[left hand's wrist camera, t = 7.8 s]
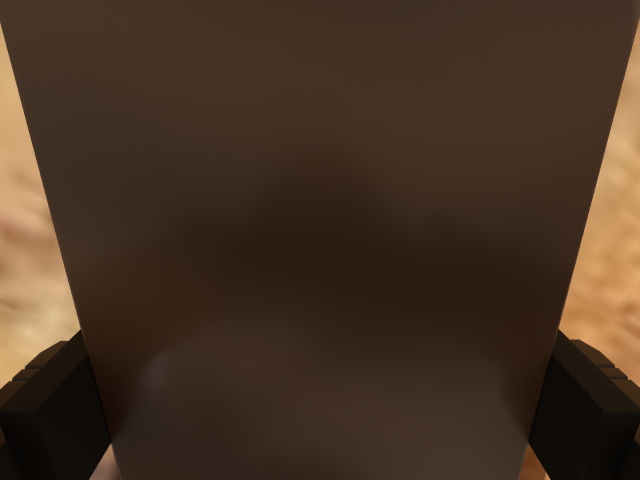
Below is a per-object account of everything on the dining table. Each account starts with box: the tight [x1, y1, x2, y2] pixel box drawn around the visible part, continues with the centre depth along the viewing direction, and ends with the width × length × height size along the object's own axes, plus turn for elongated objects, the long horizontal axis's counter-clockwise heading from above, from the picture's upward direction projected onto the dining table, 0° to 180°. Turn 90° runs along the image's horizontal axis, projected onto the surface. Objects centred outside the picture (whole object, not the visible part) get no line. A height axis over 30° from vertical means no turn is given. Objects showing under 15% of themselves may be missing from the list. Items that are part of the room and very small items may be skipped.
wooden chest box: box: [0, 0, 640, 480], centre depth 11 cm, size 18×11×8 cm, turn 0°
